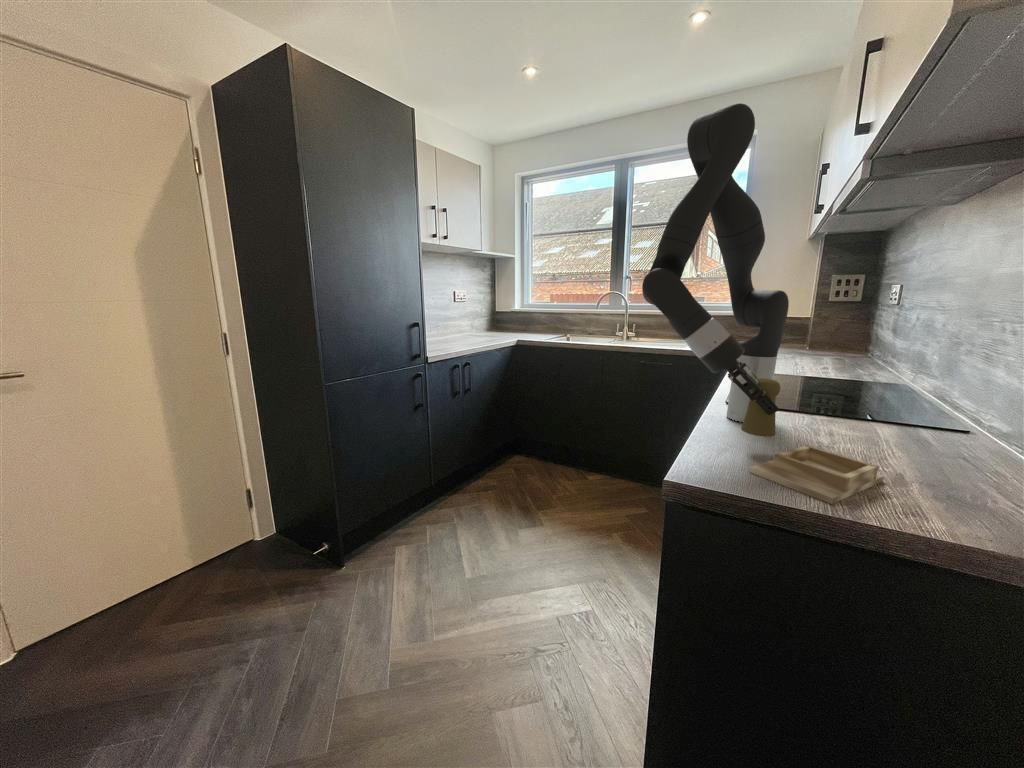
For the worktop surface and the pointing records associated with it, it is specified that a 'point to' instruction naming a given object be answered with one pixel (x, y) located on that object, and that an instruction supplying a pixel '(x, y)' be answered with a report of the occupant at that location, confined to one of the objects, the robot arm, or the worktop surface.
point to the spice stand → (819, 473)
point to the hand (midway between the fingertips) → (772, 408)
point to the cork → (761, 411)
